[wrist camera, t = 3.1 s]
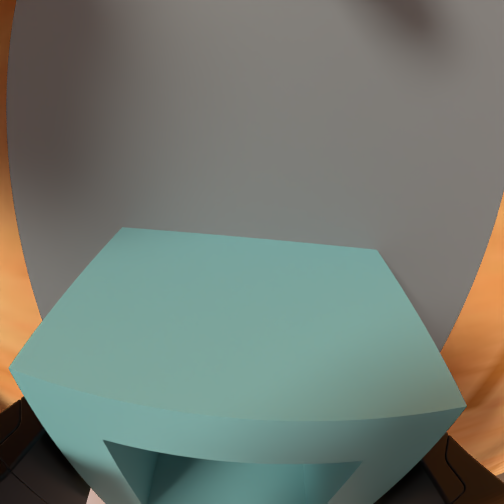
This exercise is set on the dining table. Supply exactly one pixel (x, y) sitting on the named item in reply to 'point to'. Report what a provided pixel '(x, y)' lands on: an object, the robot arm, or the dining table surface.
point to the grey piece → (261, 131)
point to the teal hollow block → (237, 373)
